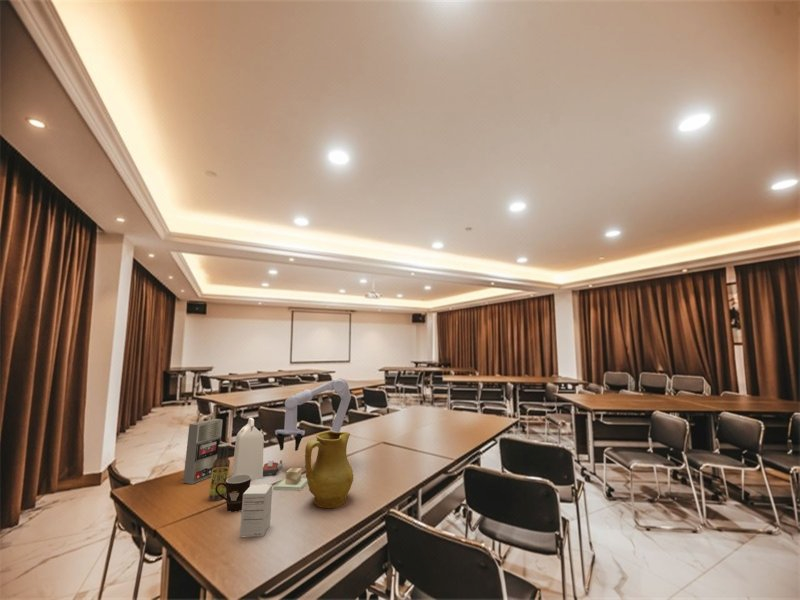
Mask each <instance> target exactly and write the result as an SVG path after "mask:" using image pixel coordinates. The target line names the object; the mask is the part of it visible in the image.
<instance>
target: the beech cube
mask: <svg viewBox="0 0 800 600" xmlns="http://www.w3.org/2000/svg"><path fill="white" fill-rule="evenodd" d="M285 477H286V479H285V484H291V485H297V484H298V483H299V482H300V481H301V477H302V468H301V467H290V468H289V469H288V470H286V471H285Z"/></svg>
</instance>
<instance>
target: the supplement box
mask: <svg viewBox="0 0 800 600" xmlns="http://www.w3.org/2000/svg"><path fill="white" fill-rule="evenodd" d="M272 495H273V484H270V483H269V484H252V485H251V484H250V487H249V488H248V489H247V490H246V491H245V492H244V494H243V501H242V510H241V516H240V517H241V518H240V528H239V529H240V531H239V538H243V537H242V536H258V537H264V535H265V534H266V532H267V530H268V528H269V527H270V526H271V517H272V514H271V513H272V499H273V496H272Z"/></svg>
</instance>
